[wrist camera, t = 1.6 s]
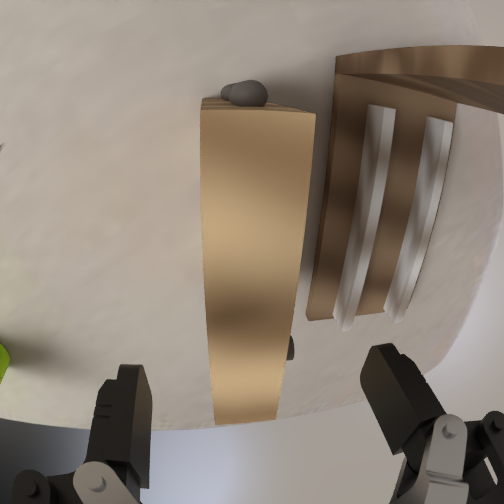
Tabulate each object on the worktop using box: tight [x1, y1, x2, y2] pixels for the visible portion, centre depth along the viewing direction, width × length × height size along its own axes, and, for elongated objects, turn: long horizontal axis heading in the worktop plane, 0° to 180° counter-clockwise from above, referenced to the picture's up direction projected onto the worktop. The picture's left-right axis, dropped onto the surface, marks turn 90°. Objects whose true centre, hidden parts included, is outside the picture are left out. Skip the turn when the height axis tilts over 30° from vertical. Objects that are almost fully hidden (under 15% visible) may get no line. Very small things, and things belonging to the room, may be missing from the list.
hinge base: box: [306, 45, 504, 331], centre depth 20 cm, size 24×12×16 cm, turn 178°
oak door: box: [200, 80, 316, 425], centre depth 19 cm, size 17×5×14 cm, turn 178°
